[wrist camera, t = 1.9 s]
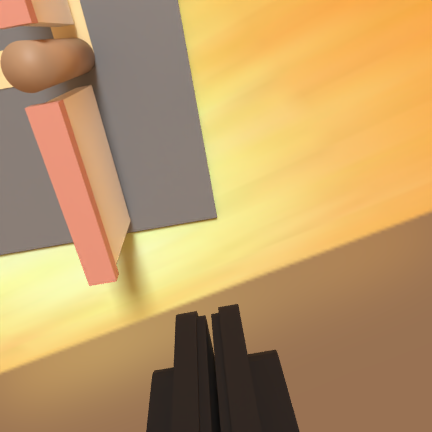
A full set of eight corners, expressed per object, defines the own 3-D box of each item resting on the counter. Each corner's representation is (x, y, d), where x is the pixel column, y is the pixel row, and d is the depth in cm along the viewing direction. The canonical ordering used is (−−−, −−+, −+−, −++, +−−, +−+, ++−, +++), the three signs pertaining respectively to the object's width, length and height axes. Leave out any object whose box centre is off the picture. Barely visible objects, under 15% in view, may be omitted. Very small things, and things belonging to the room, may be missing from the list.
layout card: (134, -240, 20) (133, -245, 20) (216, 215, 31) (217, 217, 31) (-244, -166, 21) (-252, -169, 20) (-31, 258, 32) (-33, 261, 31)
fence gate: (71, 86, 26) (24, 108, 19) (95, 82, 26) (57, 102, 19) (114, 224, 30) (89, 285, 23) (134, 221, 30) (116, 281, 23)
